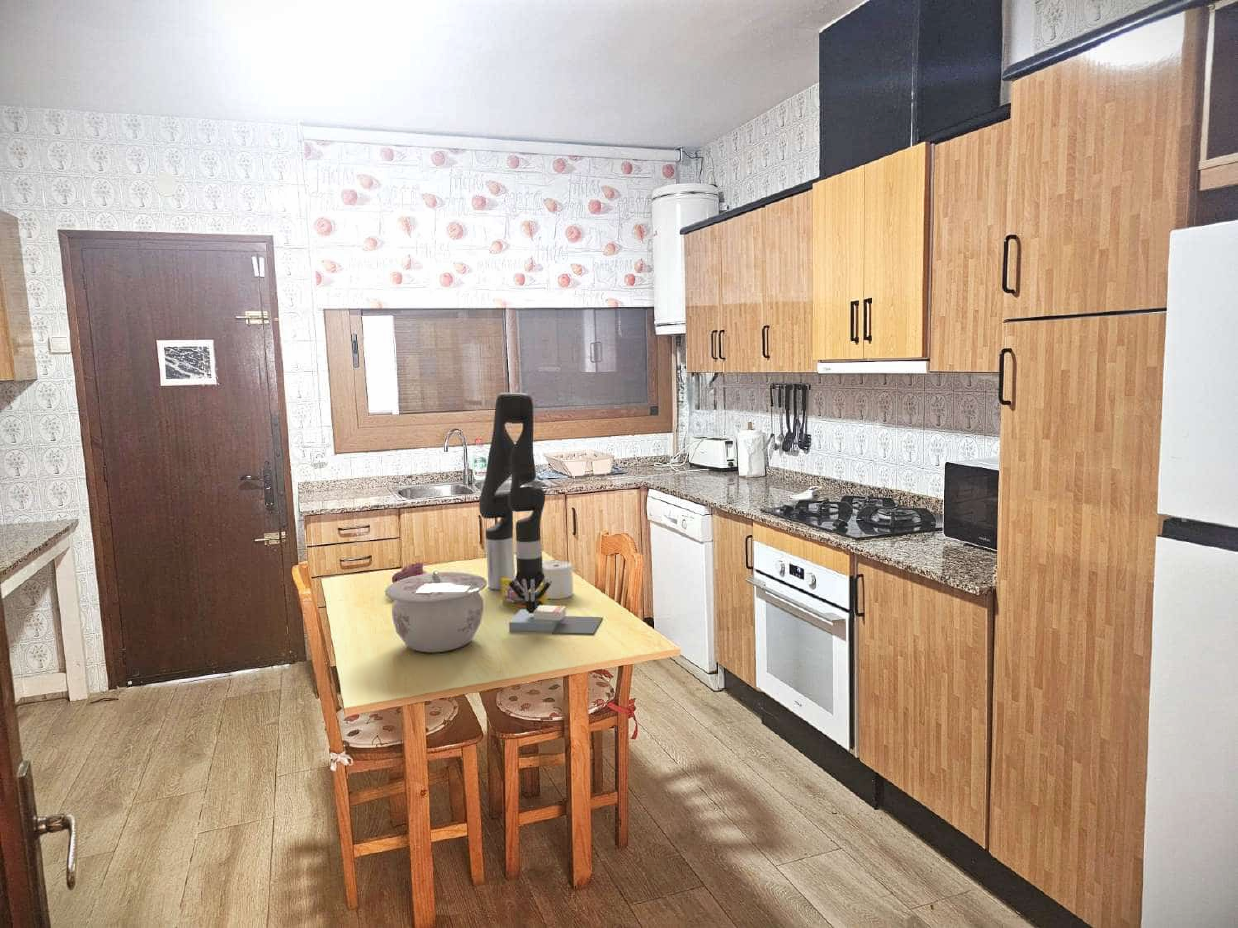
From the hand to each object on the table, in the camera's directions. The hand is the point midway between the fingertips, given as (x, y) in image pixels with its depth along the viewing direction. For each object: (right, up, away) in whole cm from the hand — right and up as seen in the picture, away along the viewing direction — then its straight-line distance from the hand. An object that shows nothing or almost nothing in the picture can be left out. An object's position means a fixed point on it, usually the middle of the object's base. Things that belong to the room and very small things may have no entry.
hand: (531, 612), depth 237 cm
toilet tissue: (+5, 0, +30) cm, 30 cm away
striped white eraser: (+6, -1, -1) cm, 6 cm away
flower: (-44, 0, +37) cm, 57 cm away
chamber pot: (-24, -6, -13) cm, 28 cm away
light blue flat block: (+1, -4, +1) cm, 4 cm away
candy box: (-4, -2, +19) cm, 19 cm away
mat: (+14, -4, -2) cm, 14 cm away
